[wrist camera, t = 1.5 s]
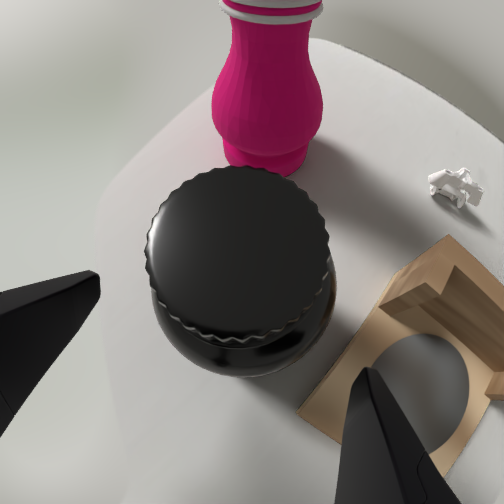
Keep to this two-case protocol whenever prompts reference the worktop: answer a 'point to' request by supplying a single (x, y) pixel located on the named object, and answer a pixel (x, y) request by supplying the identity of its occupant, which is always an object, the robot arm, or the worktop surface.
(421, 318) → the holder
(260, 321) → the supplement bottle
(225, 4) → the pepper mill
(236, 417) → the worktop surface
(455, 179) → the clip
